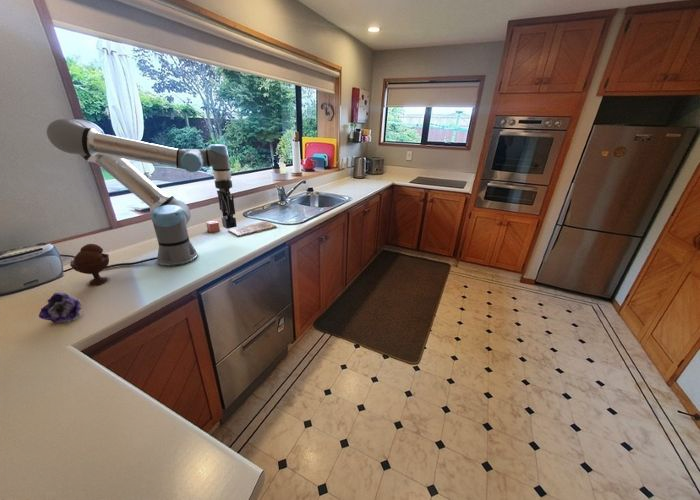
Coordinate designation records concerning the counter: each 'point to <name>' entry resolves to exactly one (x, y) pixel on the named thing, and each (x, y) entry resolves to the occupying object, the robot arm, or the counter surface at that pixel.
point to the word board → (251, 228)
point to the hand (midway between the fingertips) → (229, 225)
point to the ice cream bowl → (91, 262)
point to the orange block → (212, 226)
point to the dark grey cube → (225, 222)
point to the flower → (61, 308)
